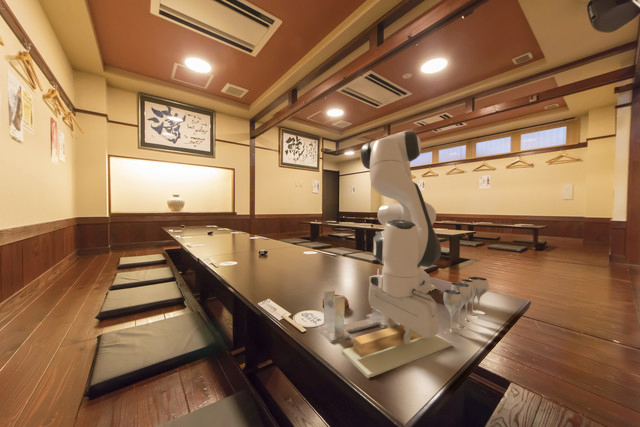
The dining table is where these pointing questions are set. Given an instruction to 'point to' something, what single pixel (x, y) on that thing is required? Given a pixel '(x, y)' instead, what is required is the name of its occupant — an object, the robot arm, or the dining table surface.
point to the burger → (344, 305)
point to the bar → (380, 340)
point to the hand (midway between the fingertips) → (398, 337)
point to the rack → (335, 319)
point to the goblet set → (463, 298)
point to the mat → (395, 355)
